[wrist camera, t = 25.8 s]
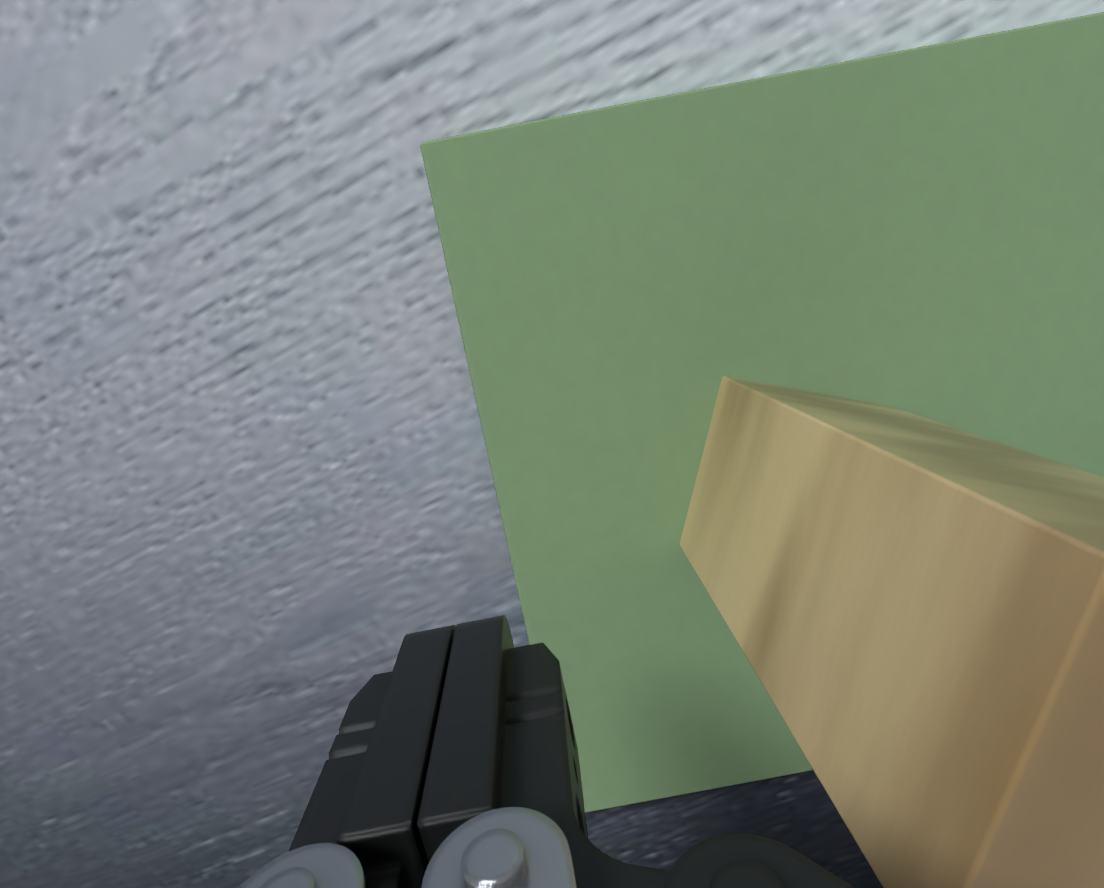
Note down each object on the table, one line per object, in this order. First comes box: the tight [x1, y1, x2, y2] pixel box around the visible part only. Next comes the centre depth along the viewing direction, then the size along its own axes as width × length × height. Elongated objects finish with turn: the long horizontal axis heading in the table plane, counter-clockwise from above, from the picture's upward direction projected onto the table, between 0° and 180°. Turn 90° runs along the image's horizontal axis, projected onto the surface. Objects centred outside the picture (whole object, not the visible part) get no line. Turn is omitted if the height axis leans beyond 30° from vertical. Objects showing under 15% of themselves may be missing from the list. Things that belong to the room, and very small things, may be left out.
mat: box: [420, 12, 1104, 813], centre depth 16 cm, size 18×20×1 cm
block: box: [680, 376, 1104, 888], centre depth 10 cm, size 4×4×10 cm
